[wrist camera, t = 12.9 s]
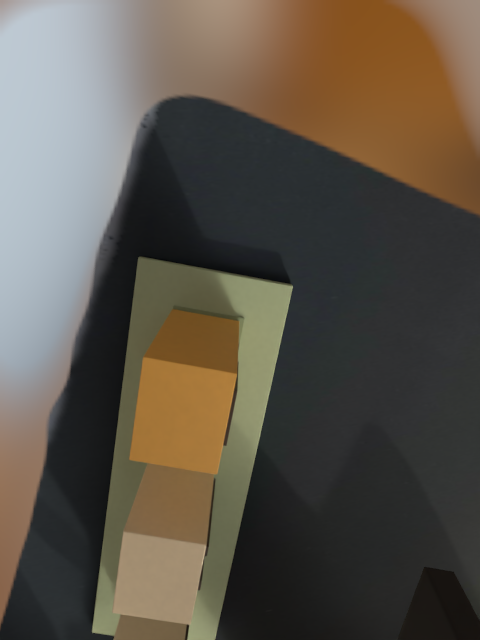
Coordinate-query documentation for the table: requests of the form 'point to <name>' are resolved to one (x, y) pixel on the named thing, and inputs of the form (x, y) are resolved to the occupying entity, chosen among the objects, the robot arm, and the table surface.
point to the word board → (252, 396)
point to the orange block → (187, 393)
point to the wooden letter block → (149, 629)
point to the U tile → (165, 545)
